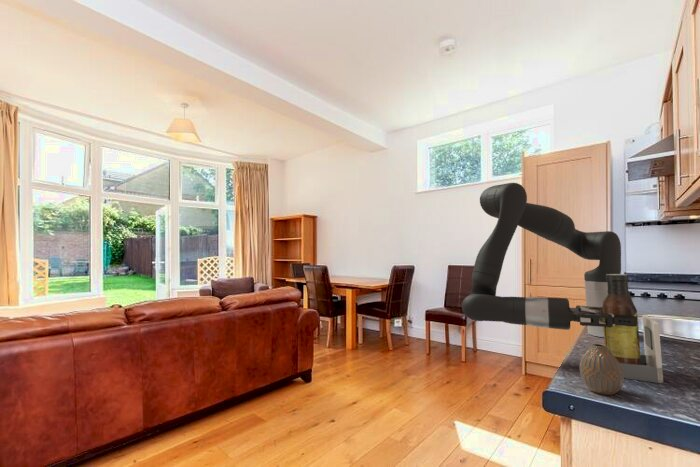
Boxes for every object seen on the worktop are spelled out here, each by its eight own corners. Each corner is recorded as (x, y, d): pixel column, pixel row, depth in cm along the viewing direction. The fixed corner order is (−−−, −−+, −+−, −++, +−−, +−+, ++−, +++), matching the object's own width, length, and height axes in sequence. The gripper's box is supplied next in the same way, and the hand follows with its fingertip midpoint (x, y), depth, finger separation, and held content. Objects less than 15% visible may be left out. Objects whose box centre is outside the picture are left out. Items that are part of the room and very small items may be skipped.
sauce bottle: (647, 368, 72) (643, 275, 73) (614, 366, 73) (610, 275, 74) (629, 358, 78) (625, 273, 79) (598, 357, 79) (595, 273, 80)
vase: (611, 401, 61) (607, 352, 61) (572, 387, 67) (570, 343, 68) (633, 394, 64) (629, 347, 64) (594, 381, 70) (591, 339, 71)
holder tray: (590, 361, 83) (587, 312, 83) (650, 368, 77) (646, 315, 78) (595, 374, 74) (592, 319, 75) (663, 383, 68) (658, 323, 69)
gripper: (545, 301, 78) (640, 306, 69) (546, 294, 90) (626, 297, 81) (547, 334, 77) (642, 343, 69) (547, 322, 90) (628, 328, 81)
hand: (633, 318), depth 75 cm, fingers closed on sauce bottle, 6 cm apart
